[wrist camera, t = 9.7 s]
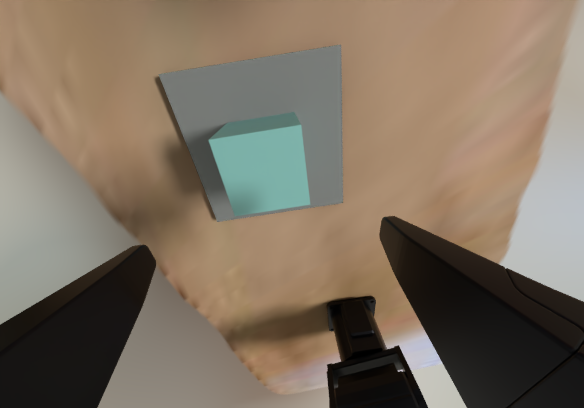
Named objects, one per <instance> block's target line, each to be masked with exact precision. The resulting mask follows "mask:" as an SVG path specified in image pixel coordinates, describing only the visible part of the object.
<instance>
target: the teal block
mask: <svg viewBox="0 0 584 408" xmlns="http://www.w3.org/2000/svg"><path fill="white" fill-rule="evenodd" d="M209 143H210V146H211V149H212V152H213V155H214V158H215V161H216V163H217V166H218V169H219V172H220V175H221V178H222V181H223V184H224V186H225V189H226V192H227V195H228V198H229V201H230V204H231V207H232V210H233V212H234V215H235V216H241V215H247V214H254V213H260V212H266V211H273V210H279V209H286V208H292V207H298V206H305V205H310V197H309V188H308V180H307V171H306V162H305V153H304V145H303V136H302V127H301V123H300V122H299V120H298V118H297V116H296V114H295V112H291V113H285V114H279V115H273V116H267V117H261V118H255V119H248V120H242V121H236V122H230V123H227V124H226V125H224V126H223V127H222V128H221V129H220V130H219V131H218V132H217V133H216V134H214V135H213V136H212V137H211V138H210V139H209Z"/></svg>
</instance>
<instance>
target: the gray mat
mask: <svg viewBox="0 0 584 408" xmlns="http://www.w3.org/2000/svg"><path fill="white" fill-rule="evenodd" d="M159 77H160V79H161V82H162V84H163V87H164V89H165V92H166V94H167V97H168V99H169V102H170V104H171V107H172V109H173V112H174V114H175V117H176V119H177V122H178V124H179V127H180V129H181V132H182V134H183V137H184V139H185V142H186V144H187V147H188V149H189V152H190V154H191V157H192V159H193V162H194V164H195V167H196V169H197V172H198V174H199V177H200V179H201V182H202V184H203V187H204V189H205V192H206V194H207V197H208V199H209V202H210V204H211V207H212V209H213V212H214V214H215V217H216V219H217V222H220V221H227V220H233V219H240V218H246V217H253V216H260V215H266V214H273V213H279V212H286V211H293V210H299V209H306V208H312V207H319V206H326V205H332V204H339V203H343V157H342V75H341V45H335V46H329V47H323V48H317V49H311V50H305V51H299V52H292V53H286V54H280V55H274V56H268V57H262V58H256V59H249V60H243V61H237V62H231V63H225V64H219V65H213V66H207V67H200V68H194V69H188V70H182V71H176V72H170V73H164V74H159ZM291 112H295V114H296V116H297V118H298V120H299V122H300V123H301V127H302V136H303V145H304V153H305V162H306V171H307V180H308V188H309V197H310V205H305V206H298V207H292V208H286V209H279V210H273V211H266V212H260V213H254V214H247V215H241V216H235V215H234V212H233V210H232V207H231V204H230V201H229V198H228V195H227V192H226V189H225V186H224V184H223V181H222V178H221V175H220V172H219V169H218V166H217V163H216V161H215V158H214V155H213V152H212V149H211V146H210V143H209V139H210V138H211V137H212V136H213V135H214V134H216V133H217V132H218V131H219V130H220V129H221V128H222V127H223V126H224V125H226V124H227V123H230V122H236V121H242V120H248V119H255V118H261V117H267V116H273V115H279V114H285V113H291Z"/></svg>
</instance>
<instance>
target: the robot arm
mask: <svg viewBox="0 0 584 408" xmlns="http://www.w3.org/2000/svg"><path fill="white" fill-rule="evenodd" d="M380 240H381V243H382V245H383V248H384V250H385V253H386V255H387V258H388V260H389V262H390V265H391V267H392V270H393V272H394V274H395V276H396V278H397V280H398V282H399V284H400V286H401V288H402V289H403V291H404V293H405V295H406V297H407V299H408V300H409V302H410V304H411V306H412V308H413V310H414V311H415V313H416V315H417V317H418V319H419V321H420V322H421V324H422V326H423V328H424V330H425V332H426V333H427V335H428V337H429V339H430V341H431V342H432V344H433V346H434V348H435V350H436V352H437V353H438V355H439V357H440V359H441V361H442V363H443V364H444V366H445V368H446V370H447V372H448V374H449V375H450V377H451V379H452V381H453V383H454V385H455V386H456V388H457V390H458V392H459V394H460V396H461V397H462V399H463V401H464V403H465V405H466V407H467V408H584V302H583V301H580V300H578V299H576V298H573V297H571V296H569V295H566V294H563V293H561V292H559V291H557V290H554V289H552V288H550V287H547V286H545V285H543V284H541V283H538V282H536V281H534V280H532V279H530V278H527V277H525V276H523V275H521V274H519V273H516V272H514V271H512V270H510V269H508V268H507V269H505V267H503V266H501V265H499V264H497V263H495V262H493V261H490V260H488V259H486V258H484V257H482V256H480V255H477V254H475V253H473V252H471V251H469V250H467V249H464V248H462V247H460V246H458V245H456V244H454V243H452V242H449V241H447V240H445V239H443V238H441V237H439V236H436V235H434V234H432V233H430V232H428V231H426V230H423V229H421V228H419V227H417V226H415V225H413V224H410V223H408V222H406V221H404V220H402V219H400V218H397V217H395V216H389V217H384V218H383V219H382V221H381V228H380ZM155 268H156V260H155V258H154V256H153V255H152V253H151V251H150V250H149V248H148V247H147V246H146V245H137V246H132V247H130V248H129V249H127V250H126V251H124V252H122V253H120V254H119V255H117V256H115V257H114V258H112V259H110V260H109V261H107V262H105V263H103V264H102V265H100V266H98V267H97V268H95V269H93V270H92V271H90V272H88V273H87V274H85V275H83V276H82V277H80V278H78V279H77V280H75V281H73V282H71V283H70V284H68V285H66V286H65V287H63V288H61V289H60V290H58V291H56V292H55V293H53V294H51V295H50V296H48V297H46V298H44V299H43V300H41V301H39V302H38V303H36V304H34V305H33V306H31V307H29V308H28V309H26V310H24V311H23V312H21V313H19V314H18V315H16V316H14V317H12V318H11V319H9V320H7V321H6V322H4V323H2V324H1V325H0V408H97V407H98V405H99V403H100V401H101V398H102V396H103V394H104V392H105V389H106V387H107V385H108V383H109V380H110V378H111V376H112V374H113V371H114V369H115V367H116V365H117V362H118V360H119V358H120V356H121V353H122V351H123V349H124V347H125V345H126V342H127V340H128V338H129V335H130V333H131V331H132V329H133V327H134V324H135V322H136V320H137V318H138V315H139V313H140V311H141V308H142V306H143V303H144V301H145V298H146V295H147V292H148V289H149V286H150V283H151V280H152V277H153V273H154V270H155ZM375 304H376V300H375V298H374V297H366V298H359V299H352V300H345V301H338V302H331V303H328V304H327V311H328V323H329V330H330V331H334V333H335V337H336V341H337V346H338V350H339V354H340V359H341V362H339V363H335V364H332V363H331V364H327V367H328V371H327V378H328V389H329V399H330V400H329V407H330V408H428V407H427V404H426V402H425V400H424V398H423V395H422V393H421V391H420V389H419V386H418V384H417V383H416V380H415V378H414V376H413V374H412V372H411V370H410V368H409V366H408V364H407V362H406V360H405V357H404V355H403V353H402V351H401V349H400V347H399V345H398V346H394V348H391V349H387V348H386V345H385V343H384V340H383V338H382V336H381V333H380V331H379V328H378V326H377V323H376V321H375V319H374V313H375ZM401 369H403V372H402V371H400V372H398V371H397V370H401Z"/></svg>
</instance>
